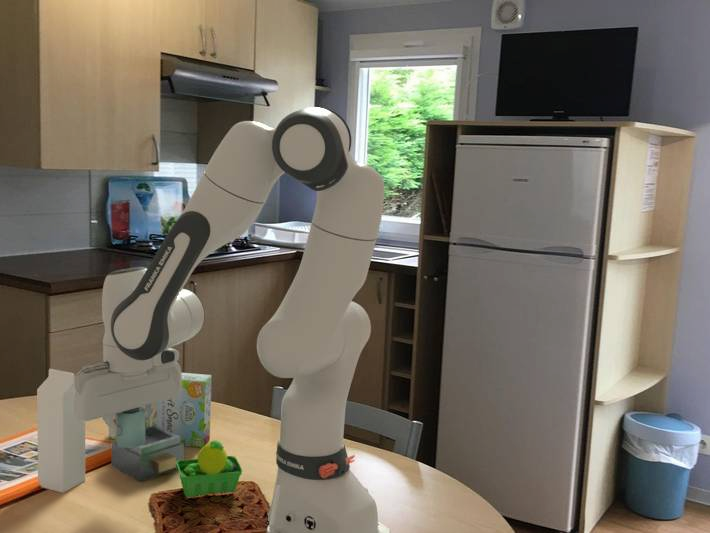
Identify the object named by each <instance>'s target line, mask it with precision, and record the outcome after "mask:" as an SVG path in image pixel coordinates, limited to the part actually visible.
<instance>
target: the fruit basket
mask: <svg viewBox="0 0 710 533" xmlns="http://www.w3.org/2000/svg"><path fill="white" fill-rule="evenodd" d="M176 464H177V468H178V469H177V470H178V474H179V477H180V483H181V487H182V489H183V494H184V496H185V498H186V497H194V496H199V495H200V496H201V495H207V494H211V493H222V492H234V491H235V492H236V489H237V486H238V484H239V480H240V477H241V475H242V473H243V468H242V467H241V464H240V463H239V461H238V459H237V456H233V455H228V454H227V451H226V450H225V448H224V446H223V443H221V442H220V441H219V440H217V439H214V440H211V441H209V442H207V443H206V444H205V445H204V447H203V448H201V449H200V450H199V451H198V454H197V458H192V459H183V460H179V461H177V462H176Z"/></svg>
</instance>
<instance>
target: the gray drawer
mask: <svg viewBox="0 0 710 533" xmlns="http://www.w3.org/2000/svg"><path fill="white" fill-rule="evenodd" d="M184 448H185V446H184V444H183V443H181V442H180V436H178V435H176V434H174V433H172V432H170V431H167V430H165V429H163V428H161V427H159V426H157V425H155V424H152V426H151V427H148V428H145V443H144V444H143V445H141V446H138V447H134V448H122V447H119V446H117V437H115V439H114V441H111V467H112V468H115V469H116V470H118V471H120V472H121V473H124V474H125V475H127V476H129V477H130V478H132V479H134V480H136V481H137V482H139V483H142V482H145V481H147V480H148V481H149V480H151V479H154V478H157V477H159V476H162V475H165V474H168V473H171V472H174V471H176V470H178V468H177V464H176V462H177V461H179V460H184V454H185V452H184Z"/></svg>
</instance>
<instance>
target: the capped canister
mask: <svg viewBox="0 0 710 533" xmlns="http://www.w3.org/2000/svg"><path fill="white" fill-rule="evenodd" d="M116 425H118V426H121V435H120V436H117V446H119V447H122V448H134V447H138V446H141V445H143V444H144V443H145V409H144V408H142V407H138V408H135V409H131V410H127V411H123V412H120V413H116Z"/></svg>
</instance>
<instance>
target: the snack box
mask: <svg viewBox="0 0 710 533" xmlns="http://www.w3.org/2000/svg"><path fill="white" fill-rule="evenodd" d="M181 375H182V391H181V393H180V394H179V396H178V397H175V398H172V399H168V400H164V401H161V402H157V405H158V408H157V410H156V412H155V414H154V416H153V418H152V424H155V425H157V426H159V427H161V428H163V429H165V430H167V431H170V432H172V433H174V434H176V435H178V436H180V442H181V443H183V444H184V447H192V448H201V449H202V448H203V447H204V446H205V445H206V444H208V443H209V442H210V437H211V412H212V411H211V404H212V401H211V400H212V380H213V379H212V378H213V377H212V376H213V375H211V374H200V373H191V372H189V373H188V372H181ZM142 408H144V409H145V411H146V409H147V407H145V406H142ZM113 421H114V423H115V424H116V419H114V420H113ZM109 439H111V440H115V437H114V438H113V437H111V436H110V435H109Z"/></svg>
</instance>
